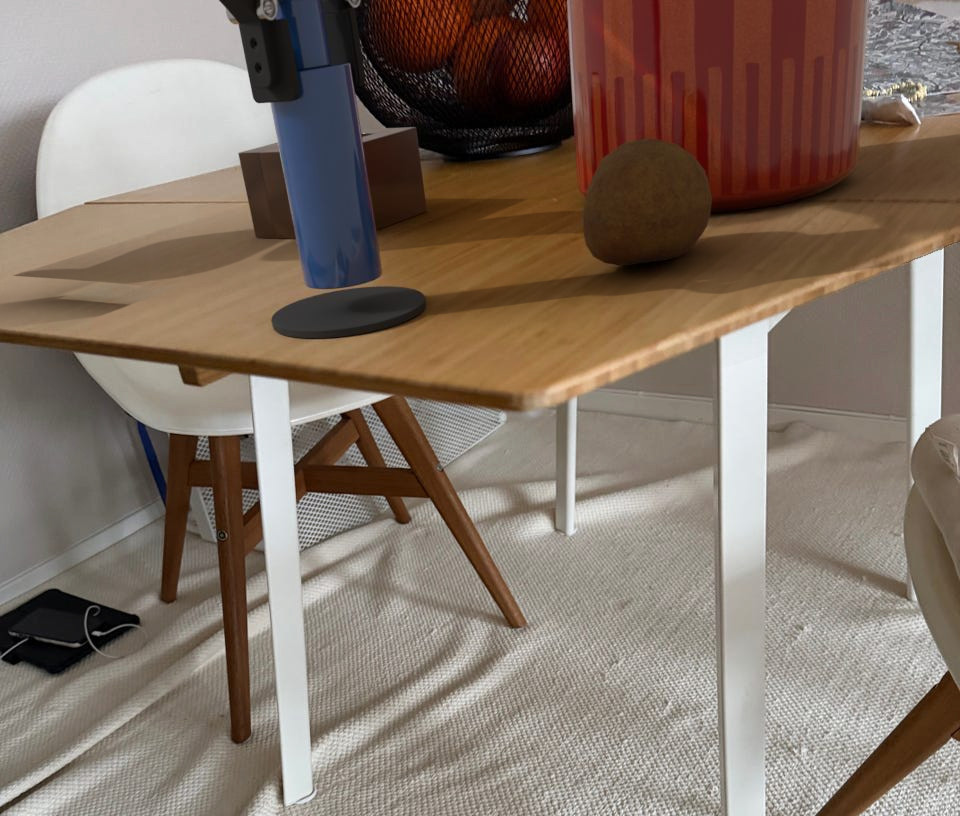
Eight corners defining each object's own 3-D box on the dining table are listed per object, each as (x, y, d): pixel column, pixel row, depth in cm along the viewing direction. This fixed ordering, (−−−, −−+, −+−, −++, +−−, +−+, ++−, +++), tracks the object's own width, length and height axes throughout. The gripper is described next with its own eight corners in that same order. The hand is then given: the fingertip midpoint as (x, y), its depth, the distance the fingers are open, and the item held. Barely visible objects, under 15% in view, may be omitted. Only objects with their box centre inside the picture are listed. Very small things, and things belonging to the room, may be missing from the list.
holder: (255, 237, 97) (237, 152, 93) (335, 210, 104) (322, 130, 101) (349, 240, 91) (334, 150, 88) (427, 211, 99) (416, 127, 95)
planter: (591, 232, 83) (574, -83, 73) (568, 182, 103) (551, -72, 92) (896, 197, 82) (923, -129, 72) (814, 153, 102) (826, -108, 91)
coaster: (240, 332, 70) (238, 324, 70) (341, 290, 77) (339, 283, 76) (360, 343, 65) (358, 335, 64) (456, 297, 71) (455, 289, 71)
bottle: (288, 287, 69) (230, -5, 61) (339, 267, 72) (291, -12, 64) (348, 291, 66) (296, -14, 58) (398, 270, 70) (356, -21, 61)
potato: (728, 239, 77) (729, 119, 73) (689, 288, 67) (688, 152, 63) (616, 242, 80) (611, 127, 76) (564, 289, 70) (555, 159, 66)
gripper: (300, -279, 62) (354, 77, 72) (55, -309, 51) (158, 120, 60) (404, -311, 58) (447, 70, 68) (163, -351, 47) (256, 115, 56)
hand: (310, 90), depth 64 cm, fingers closed on bottle, 5 cm apart
